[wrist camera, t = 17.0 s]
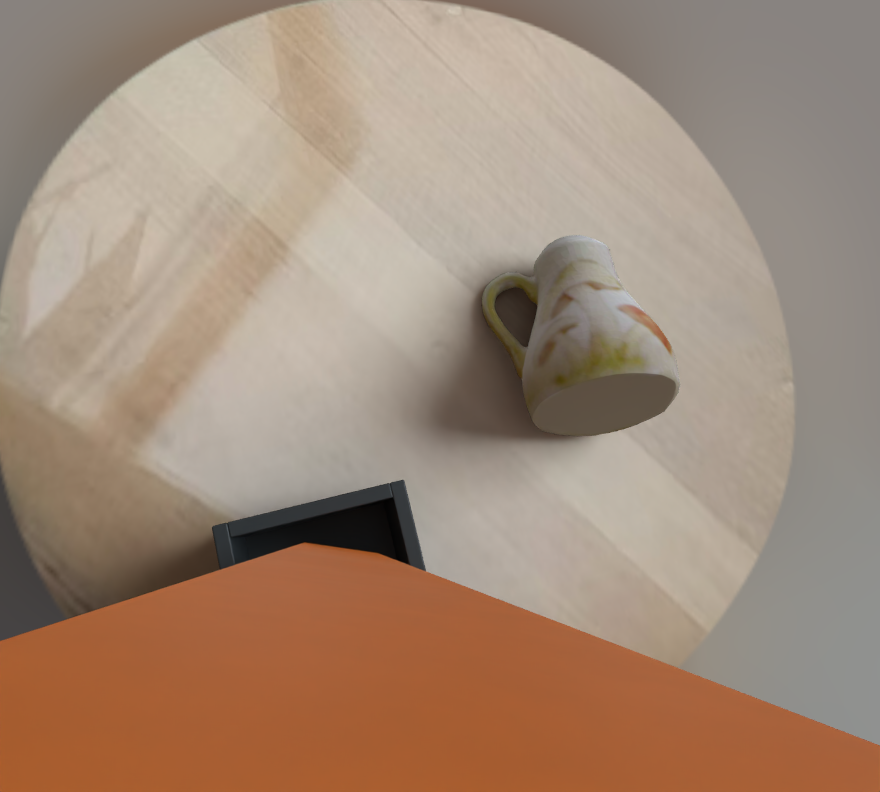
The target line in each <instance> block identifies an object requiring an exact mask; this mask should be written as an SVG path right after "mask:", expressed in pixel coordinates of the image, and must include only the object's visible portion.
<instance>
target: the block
mask: <svg viewBox="0 0 880 792" xmlns="http://www.w3.org/2000/svg"><path fill="white" fill-rule="evenodd" d="M0 792H880V746H879V745H877V744H874V743H872V742H869V741H867V740H864V739H861V738H858V737H856V736H853V735H851V734H848V733H846V732H843V731H840V730H838V729H835V728H833V727H830V726H827V725H825V724H822V723H820V722H817V721H814V720H812V719H809V718H806V717H804V716H801V715H799V714H796V713H793V712H791V711H788V710H785V709H783V708H780V707H778V706H775V705H773V704H770V703H767V702H765V701H762V700H760V699H757V698H754V697H752V696H749V695H746V694H744V693H741V692H739V691H736V690H733V689H731V688H728V687H726V686H723V685H720V684H718V683H715V682H713V681H710V680H708V679H704V678H702V677H700V676H697V675H694V674H692V673H689V672H687V671H684V670H681V669H679V668H676V667H674V666H671V665H668V664H666V663H663V662H661V661H658V660H655V659H653V658H650V657H648V656H645V655H642V654H640V653H637V652H634V651H632V650H629V649H627V648H624V647H621V646H619V645H616V644H614V643H611V642H608V641H606V640H603V639H601V638H598V637H595V636H593V635H590V634H588V633H585V632H582V631H580V630H577V629H575V628H572V627H569V626H567V625H564V624H561V623H559V622H556V621H554V620H551V619H548V618H546V617H543V616H541V615H538V614H535V613H533V612H530V611H528V610H525V609H522V608H520V607H517V606H515V605H512V604H509V603H507V602H504V601H501V600H499V599H496V598H494V597H491V596H488V595H486V594H483V593H481V592H478V591H475V590H473V589H470V588H468V587H465V586H462V585H460V584H457V583H455V582H452V581H449V580H447V579H444V578H442V577H439V576H436V575H434V574H431V573H428V572H426V571H423V570H421V569H418V568H415V567H413V566H410V565H408V564H405V563H402V562H400V561H397V560H395V559H392V558H389V557H387V556H384V555H382V554H379V553H374V552H367V551H360V550H353V549H346V548H340V547H333V546H326V545H319V544H312V543H305V542H304V543H301V544H298V545H295V546H292V547H289V548H286V549H283V550H280V551H276V552H273V553H270V554H267V555H264V556H261V557H258V558H255V559H252V560H249V561H246V562H242V563H239V564H236V565H233V566H230V567H227V568H224V569H221V570H218V571H215V572H212V573H209V574H205V575H202V576H199V577H196V578H193V579H190V580H187V581H184V582H181V583H178V584H175V585H171V586H168V587H165V588H162V589H159V590H156V591H153V592H150V593H147V594H144V595H141V596H138V597H134V598H131V599H128V600H125V601H122V602H119V603H116V604H113V605H110V606H107V607H104V608H100V609H97V610H94V611H91V612H88V613H85V614H82V615H79V616H76V617H73V618H70V619H67V620H63V621H60V622H57V623H54V624H51V625H48V626H45V627H42V628H39V629H36V630H33V631H30V632H27V633H23V634H21V635H17V636H14V637H11V638H8V639H5V640H2V641H0Z"/></svg>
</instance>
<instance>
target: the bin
mask: <svg viewBox="0 0 880 792" xmlns="http://www.w3.org/2000/svg"><path fill="white" fill-rule="evenodd" d="M212 531H213V536H214V541H215V546H216V551H217V556H218V561H219V566H220V570H221V569H224V568H227V567H230V566H233V565H236V564H239V563H242V562H246V561H249V560H252V559H255V558H258V557H261V556H264V555H267V554H270V553H273V552H276V551H280V550H283V549H286V548H289V547H292V546H295V545H298V544H301V543H304V542H305V543H312V544H319V545H326V546H333V547H340V548H346V549H353V550H360V551H367V552H374V553H379V554H382V555H384V556H387V557H389V558H392V559H395V560H397V561H400V562H402V563H405V564H408V565H410V566H413V567H415V568H418V569H421V570H423V571H426V569H425V565H424V561H423V557H422V552H421V548H420V544H419V540H418V536H417V532H416V528H415V523H414V519H413V515H412V511H411V507H410V503H409V498H408V494H407V490H406V486H405V482H404V480H400V481H396V482H392V483H390V484H389V483H387V484H383V485H379V486H375V487H371V488H367V489H363V490H359V491H355V492H351V493H346V494H342V495H338V496H334V497H330V498H326V499H322V500H318V501H314V502H310V503H305V504H301V505H297V506H293V507H289V508H285V509H281V510H277V511H273V512H268V513H264V514H260V515H256V516H252V517H248V518H244V519H240V520H236V521H232V522H228V523H223V524H219V525H215V526H213V527H212Z"/></svg>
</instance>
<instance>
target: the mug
mask: <svg viewBox="0 0 880 792" xmlns="http://www.w3.org/2000/svg"><path fill="white" fill-rule="evenodd" d="M510 288H521V289H523V290H524V291H525V292H526V294H527V296H528V298H529V299H530V300H531V301H532V302H534V303H535V304H537V305H538V308H537V313H536V317H535V321H534V325H533V328H532V331H531V337H530V341H529V344H528V347H524V346H523V345H521V344H520V343H519V341H518V340H517V339H516V338H515V337H514V336H513V335H512V334H511V333H510V332H509V331H508V329H507V328H506V327H505V326H504V324H503V323H502V321H501V320H500V318H499V317H498V315H497V313H496V310H495V300H496V297H497V296H498V295H499V294H500V293H501V292H502V291H504V290H507V289H510ZM482 308H483V313H484V317H485V319H486V321H487V323H488V325H489V327H490V328H491V329H492V331H493V332H494V333H495V335H496V336H497V337H498V338H499V340H500V341H501V342H502V344H503V345H504V347H505V348H506V350H507V351H508V353H509V355H510V357H511V358H512V361H513V363H514V365H515V368H516V371H517V374H518V376H519V377H520V378H521V379H522V383H523V393H524V398H525V401H526V405H527V408H528V411H529V414H530V417H531V419H532V421H533V423H534V424H535V425H536V426H537V427H538V428H539V429H540V430H542V431H544V432H549V433H553V434H561V435H571V436H592V435H599V434H605V433H610V432H614V431H618V430H622V429H625V428H628V427H631V426H634V425H637V424H639V423H641V422H644V421H646V420H648V419H651V418H653V417H655V416H657V415H659V414H661V413H662V412H664V411H665V410H666V409H667V407H668V406H669V405H670V404H671V403H672V401H673V400H674V398H675V397H676V395H677V394H678V392H679V388H680V380H679V373H678V367H677V362H676V358H675V355H674V352H673V349H672V347H671V345H670V343H669V341H668V340H667V338H666V337H665V335H664V334H663V332H662V331H661V330H660V328H659V327H658V326H657V324H656V323H655V322H654V321H653V320H652V319H651V318H650V317H649V316H648V315H647V313H646V312H645V311H644V310H643V309H642V308H641V307H640V306H639V305H638V304H637V303H636V302H635V300H634V299H633V298H632V297H631V296H630V295H629V293H628V292H627V291H626V290H625V289H624V287H623V286H622V284H621V282H620V280H619V277H618V276H617V273H616V271H615V267H614V264H613V261H612V257H611V253H610V249H609V248H608V247H607V246H606V245H605V244H604V243H602V242H600V241H597V240H595V239H592V238H589V237H586V236H581V235H573V236H566V237H562V238H559V239H557V240H555V241H553V242H552V243H550V244H549V245H548V246H547V247H546V248H545V249H544V250H543V251H542V253H541V254H540V256H539V257H538V258H537V260H536V262H535V265H534V272H533V277H527V276H525V275H522V274H520V273H518V272H509V273H503V274H501V275H500V276H498V277H497V278H495V279H494V280H493V281H491V282H490V283H489V284H488V285H487V287H486V288H485V290H484V293H483V298H482Z"/></svg>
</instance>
